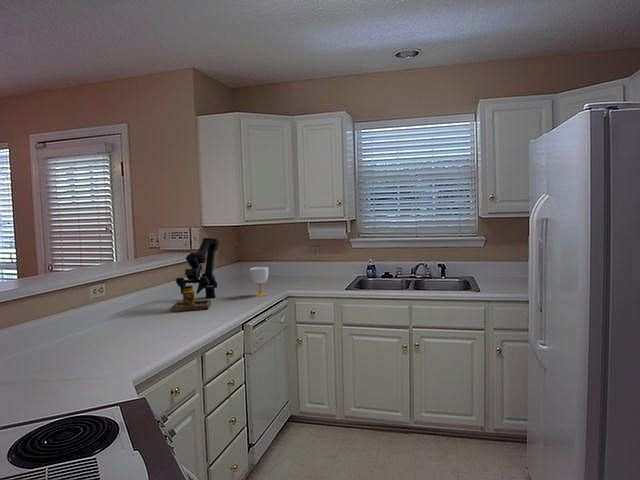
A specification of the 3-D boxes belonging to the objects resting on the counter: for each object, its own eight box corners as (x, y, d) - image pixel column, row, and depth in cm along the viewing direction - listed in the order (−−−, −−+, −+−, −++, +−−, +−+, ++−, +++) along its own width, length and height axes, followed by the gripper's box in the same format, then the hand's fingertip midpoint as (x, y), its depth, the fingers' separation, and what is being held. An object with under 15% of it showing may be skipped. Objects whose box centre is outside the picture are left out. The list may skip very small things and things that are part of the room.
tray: (176, 306, 274) (176, 302, 274) (211, 303, 276) (210, 299, 276) (170, 312, 258) (170, 308, 258) (207, 309, 260) (207, 305, 260)
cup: (273, 293, 300) (271, 266, 299) (263, 296, 290) (261, 269, 289) (257, 292, 305) (256, 266, 304) (247, 296, 295) (245, 269, 294)
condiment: (191, 308, 262) (189, 287, 261) (178, 308, 264) (176, 287, 263) (198, 305, 269) (196, 284, 268) (185, 305, 271) (183, 285, 270)
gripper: (175, 264, 272) (168, 286, 262) (206, 262, 270) (200, 285, 260) (182, 275, 281) (175, 297, 271) (212, 274, 278) (206, 296, 268)
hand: (189, 293), depth 267 cm, fingers open, 9 cm apart
